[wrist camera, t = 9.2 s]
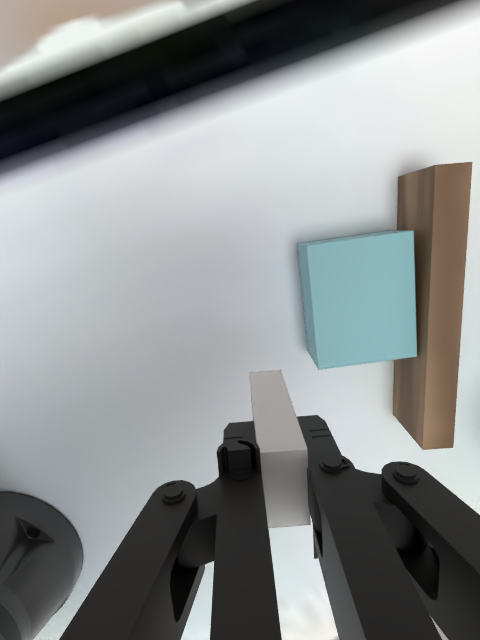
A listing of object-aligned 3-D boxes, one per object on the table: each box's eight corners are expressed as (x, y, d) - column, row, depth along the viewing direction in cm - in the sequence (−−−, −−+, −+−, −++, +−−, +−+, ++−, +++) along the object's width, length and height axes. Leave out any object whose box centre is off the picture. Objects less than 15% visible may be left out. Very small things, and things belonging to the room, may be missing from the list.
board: (393, 414, 36) (422, 449, 30) (398, 177, 31) (435, 165, 25) (418, 412, 36) (453, 447, 30) (428, 174, 31) (472, 161, 25)
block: (307, 350, 35) (318, 369, 30) (296, 243, 33) (306, 245, 28) (391, 338, 35) (417, 356, 30) (387, 230, 32) (413, 230, 27)
